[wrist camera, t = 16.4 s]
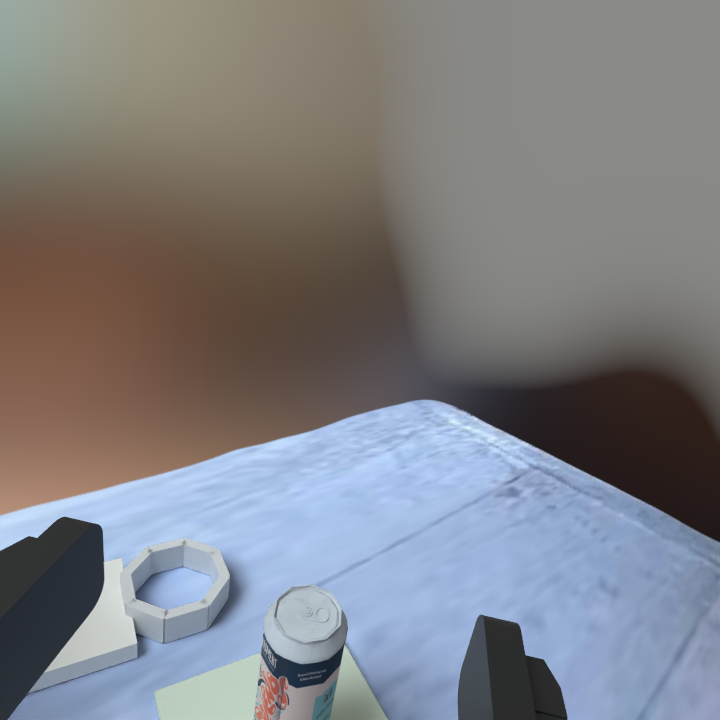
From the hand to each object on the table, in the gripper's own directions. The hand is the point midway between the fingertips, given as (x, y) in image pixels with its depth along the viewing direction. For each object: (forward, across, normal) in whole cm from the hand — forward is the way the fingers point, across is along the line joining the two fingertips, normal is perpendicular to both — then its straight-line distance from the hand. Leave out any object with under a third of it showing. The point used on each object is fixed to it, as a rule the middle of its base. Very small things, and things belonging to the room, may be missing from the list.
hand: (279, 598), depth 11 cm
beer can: (+14, +1, +28) cm, 31 cm away
